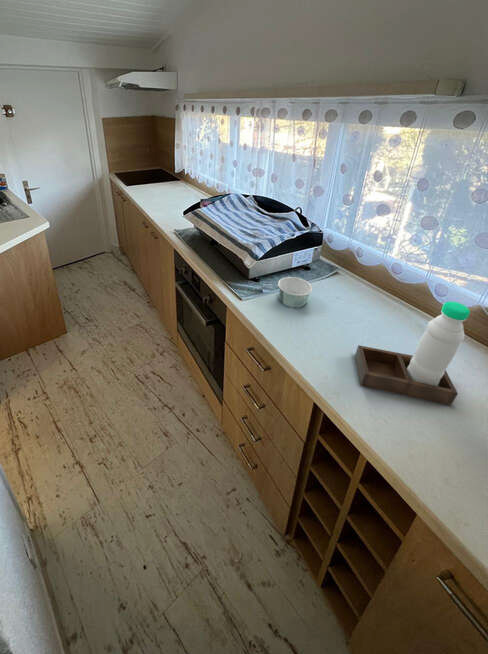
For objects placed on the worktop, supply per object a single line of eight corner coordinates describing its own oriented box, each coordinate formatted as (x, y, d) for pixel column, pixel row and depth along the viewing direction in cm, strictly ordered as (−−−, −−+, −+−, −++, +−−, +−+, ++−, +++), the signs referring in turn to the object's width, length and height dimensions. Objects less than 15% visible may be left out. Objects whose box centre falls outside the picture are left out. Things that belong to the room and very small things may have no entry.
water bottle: (428, 373, 83) (467, 299, 72) (441, 395, 77) (485, 318, 66) (399, 368, 85) (433, 295, 73) (409, 389, 79) (447, 313, 67)
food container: (292, 313, 108) (295, 298, 104) (269, 296, 117) (271, 282, 114) (316, 303, 113) (319, 288, 110) (291, 287, 122) (294, 273, 119)
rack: (434, 372, 85) (440, 360, 82) (450, 405, 76) (458, 393, 73) (354, 356, 90) (358, 345, 88) (360, 385, 81) (365, 373, 79)
